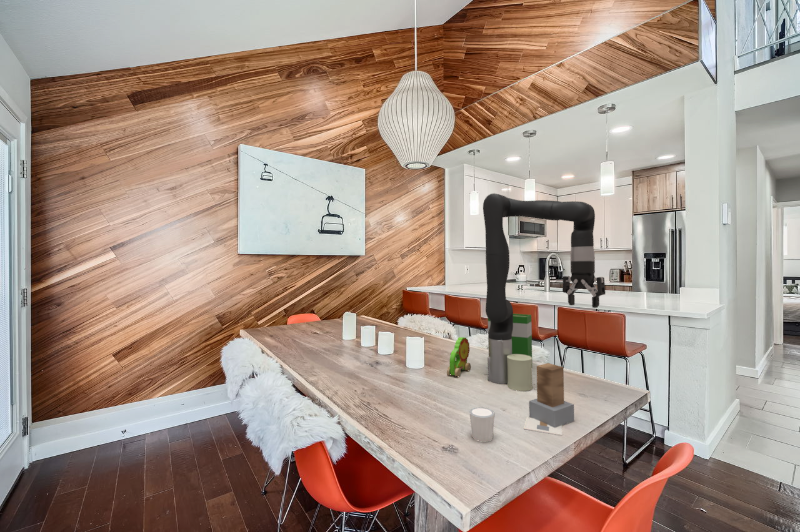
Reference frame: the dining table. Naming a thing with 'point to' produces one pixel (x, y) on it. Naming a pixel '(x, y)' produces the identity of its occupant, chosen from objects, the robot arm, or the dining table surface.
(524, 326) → the green banded block
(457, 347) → the toy lion
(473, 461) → the dining table surface
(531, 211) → the robot arm
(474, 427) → the shot glass
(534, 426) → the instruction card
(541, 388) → the walnut brick
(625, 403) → the dining table surface
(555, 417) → the base block
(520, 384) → the can
